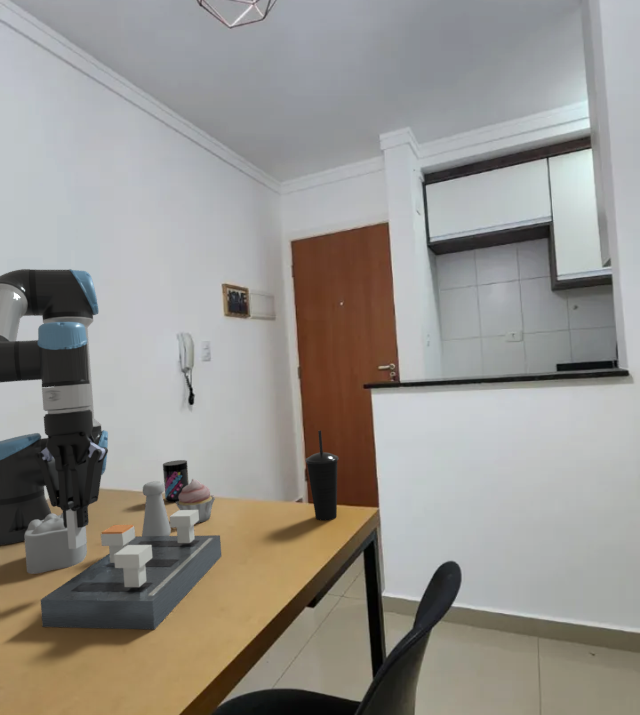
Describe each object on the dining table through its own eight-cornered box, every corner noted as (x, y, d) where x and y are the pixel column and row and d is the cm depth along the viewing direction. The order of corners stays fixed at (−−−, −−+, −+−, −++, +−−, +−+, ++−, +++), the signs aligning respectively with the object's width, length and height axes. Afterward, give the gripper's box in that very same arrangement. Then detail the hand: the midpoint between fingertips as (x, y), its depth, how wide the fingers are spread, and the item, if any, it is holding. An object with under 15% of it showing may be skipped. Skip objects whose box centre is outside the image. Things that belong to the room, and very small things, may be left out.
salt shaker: (162, 549, 98) (157, 486, 98) (137, 549, 99) (132, 486, 99) (176, 538, 104) (172, 478, 104) (152, 538, 105) (148, 479, 105)
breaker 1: (116, 589, 71) (114, 554, 71) (130, 578, 74) (127, 545, 74) (141, 589, 70) (138, 554, 70) (154, 578, 74) (151, 544, 74)
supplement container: (161, 500, 136) (158, 463, 136) (183, 494, 141) (180, 459, 141) (171, 504, 131) (168, 466, 131) (194, 498, 136) (191, 461, 136)
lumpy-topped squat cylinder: (22, 576, 90) (19, 530, 90) (36, 552, 102) (33, 512, 102) (83, 564, 93) (80, 520, 94) (89, 542, 106) (87, 503, 106)
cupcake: (192, 512, 122) (189, 473, 122) (223, 514, 118) (220, 474, 119) (168, 525, 113) (165, 483, 113) (201, 527, 110) (198, 484, 110)
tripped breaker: (103, 564, 81) (100, 532, 81) (115, 556, 84) (113, 524, 84) (124, 564, 80) (122, 532, 80) (136, 555, 83) (134, 524, 84)
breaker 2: (171, 544, 88) (169, 516, 88) (180, 537, 91) (178, 510, 91) (192, 544, 87) (189, 516, 87) (200, 537, 90) (198, 509, 90)
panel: (42, 626, 71) (40, 599, 71) (136, 556, 95) (134, 536, 95) (154, 629, 67) (152, 600, 67) (221, 556, 92) (219, 535, 92)
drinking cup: (332, 524, 105) (325, 433, 105) (303, 520, 109) (296, 433, 109) (348, 513, 111) (342, 428, 112) (321, 510, 115) (314, 427, 116)
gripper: (18, 415, 81) (28, 554, 81) (87, 410, 79) (97, 553, 78) (50, 410, 88) (60, 538, 88) (114, 406, 86) (124, 537, 86)
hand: (77, 545), depth 83 cm, fingers closed
